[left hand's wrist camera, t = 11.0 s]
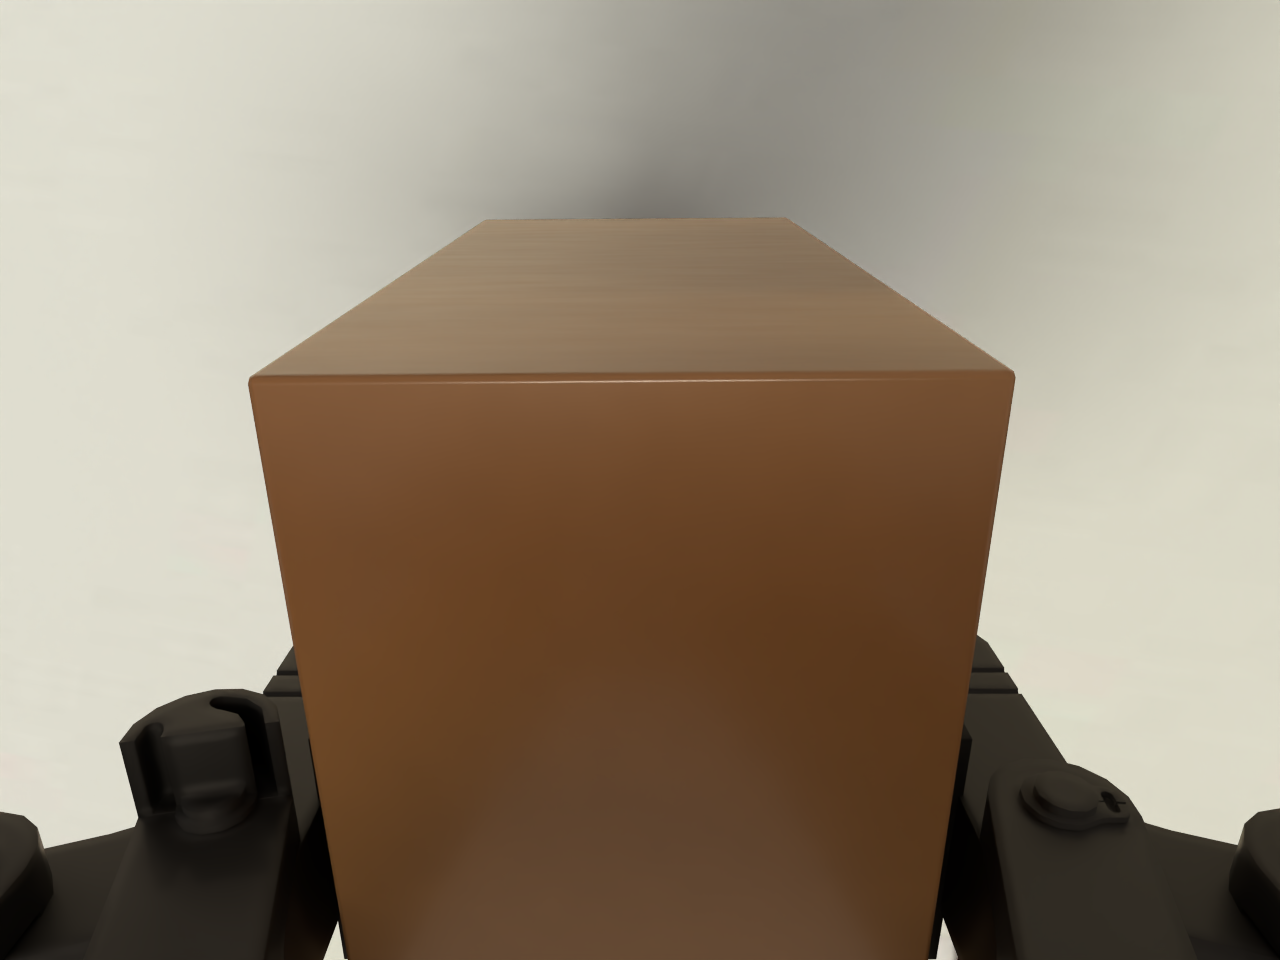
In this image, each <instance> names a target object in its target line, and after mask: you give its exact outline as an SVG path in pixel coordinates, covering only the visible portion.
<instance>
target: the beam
mask: <svg viewBox="0 0 1280 960" xmlns="http://www.w3.org/2000/svg"><path fill="white" fill-rule="evenodd" d="M1014 384H1015V374H1014V371H1012V370H1011V369H1010V368H1008V367H1007V366H1005V365H1004V364H1002V363H1001V362H999V361H998V360H996V359H995V358H993V357H992V356H990V355H989V354H987V353H986V352H984V351H983V350H981V349H980V348H978V347H977V346H976V345H974V344H973V343H971V342H970V341H968V340H967V339H965V338H964V337H962V336H961V335H959V334H958V333H956V332H955V331H953V330H952V329H950V328H949V327H947V326H946V325H944V324H943V323H941V322H940V321H939V320H937V319H936V318H934V317H933V316H931V315H930V314H928V313H927V312H925V311H924V310H922V309H921V308H919V307H918V306H916V305H915V304H913V303H912V302H910V301H909V300H907V299H906V298H904V297H903V296H902V295H900V294H899V293H897V292H896V291H894V290H893V289H891V288H890V287H888V286H887V285H885V284H884V283H882V282H881V281H879V280H878V279H876V278H875V277H873V276H872V275H870V274H869V273H867V272H866V271H865V270H863V269H862V268H860V267H859V266H857V265H856V264H854V263H853V262H851V261H850V260H848V259H847V258H845V257H844V256H842V255H841V254H839V253H838V252H836V251H835V250H833V249H832V248H831V247H829V246H828V245H826V244H825V243H823V242H822V241H820V240H819V239H817V238H816V237H814V236H813V235H811V234H810V233H808V232H807V231H805V230H804V229H802V228H801V227H799V226H798V225H796V224H795V223H794V222H792V221H791V220H789V219H788V218H785V217H783V218H656V219H529V220H485V221H483V222H481V223H480V224H478V225H477V226H475V227H474V228H472V229H471V230H469V231H468V232H466V233H465V234H463V235H462V236H460V237H459V238H457V239H456V240H454V241H453V242H452V243H450V244H449V245H447V246H446V247H444V248H443V249H441V250H440V251H438V252H437V253H435V254H434V255H432V256H431V257H429V258H428V259H426V260H425V261H423V262H422V263H420V264H419V265H417V266H416V267H414V268H413V269H411V270H410V271H408V272H407V273H405V274H404V275H402V276H401V277H399V278H398V279H396V280H395V281H393V282H392V283H390V284H389V285H387V286H386V287H384V288H383V289H381V290H380V291H378V292H377V293H375V294H374V295H372V296H371V297H369V298H368V299H366V300H365V301H363V302H362V303H360V304H359V305H357V306H356V307H354V308H353V309H351V310H350V311H348V312H347V313H345V314H344V315H342V316H341V317H339V318H338V319H336V320H335V321H333V322H332V323H330V324H329V325H327V326H326V327H324V328H323V329H321V330H320V331H318V332H317V333H315V334H314V335H312V336H311V337H309V338H308V339H306V340H305V341H303V342H302V343H300V344H299V345H297V346H296V347H294V348H293V349H291V350H290V351H288V352H287V353H285V354H284V355H282V356H281V357H279V358H278V359H276V360H275V361H273V362H272V363H270V364H269V365H267V366H266V367H264V368H263V369H261V370H260V371H258V372H257V373H255V374H254V375H252V376H251V377H250V378H249V382H248V386H249V392H250V398H251V404H252V409H253V415H254V421H255V427H256V432H257V438H258V444H259V450H260V456H261V461H262V467H263V473H264V479H265V484H266V490H267V496H268V502H269V508H270V513H271V519H272V525H273V531H274V536H275V542H276V548H277V554H278V559H279V565H280V571H281V577H282V583H283V588H284V594H285V600H286V606H287V611H288V617H289V623H290V629H291V635H292V640H293V646H294V652H295V658H296V663H297V669H298V675H299V681H300V686H301V692H302V698H303V704H304V710H305V715H306V721H307V727H308V733H309V738H310V744H311V750H312V756H313V762H314V767H315V773H316V779H317V785H318V790H319V796H320V802H321V808H322V813H323V819H324V825H325V831H326V837H327V842H328V848H329V854H330V860H331V865H332V871H333V877H334V883H335V889H336V894H337V900H338V906H339V912H340V917H341V923H342V929H343V935H344V940H345V946H346V952H347V958H348V960H928V956H929V949H930V942H931V936H932V929H933V922H934V916H935V909H936V903H937V896H938V889H939V883H940V876H941V869H942V863H943V856H944V849H945V843H946V836H947V829H948V823H949V816H950V809H951V803H952V796H953V790H954V783H955V776H956V770H957V763H958V756H959V750H960V743H961V736H962V730H963V723H964V716H965V710H966V703H967V697H968V690H969V683H970V677H971V670H972V663H973V657H974V650H975V643H976V637H977V630H978V623H979V617H980V610H981V603H982V597H983V590H984V584H985V577H986V570H987V564H988V557H989V550H990V544H991V537H992V530H993V524H994V517H995V510H996V504H997V497H998V490H999V484H1000V477H1001V471H1002V464H1003V457H1004V451H1005V444H1006V437H1007V431H1008V424H1009V417H1010V411H1011V404H1012V397H1013V391H1014Z"/></svg>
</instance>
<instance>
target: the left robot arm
mask: <svg viewBox="0 0 1280 960" xmlns="http://www.w3.org/2000/svg"><path fill="white" fill-rule="evenodd" d="M119 745H120V749H121V752H122V756H123V760H124V764H125V768H126V772H127V775H128V779H129V783H130V787H131V791H132V795H133V799H134V802H135V806H136V810H137V814H138V820H137V823H136V825H135V827H133V828H129V829H126V830H122V831H119V832H115V833H112V834H108V835H104V836H99V837H95V838H90V839H86V840H81V841H77V842H72V843H68V844H63V845H59V846H54V847H50V848H46V849H44V847H43V844H42V841H41V838H40V834H39V831H38V828H37V827H36V826H35V825H34V824H33V823H32V822H30V821H29V820H28V819H27V818H26V817H25V816H22V815H16V814H10V813H4V812H0V960H323V959H324V956H325V954H326V951H327V948H328V946H329V943H330V940H331V938H332V935H333V932H334V930H335V927H336V924H337V922H338V923H339V929H340V935H341V941H342V947H343V953H344V959H348V958H347V952H346V946H345V940H344V935H343V929H342V923H341V917H340V912H339V906H338V900H337V894H336V889H335V883H334V877H333V871H332V865H331V860H330V854H329V848H328V842H327V837H326V831H325V825H324V819H323V813H322V808H321V802H320V796H319V790H318V785H317V779H316V773H315V767H314V762H313V756H312V750H311V744H310V738H309V733H308V727H307V721H306V715H305V710H304V704H303V698H302V692H301V686H300V681H299V675H298V669H297V663H296V658H295V652H294V646H293V647H292V648H291V650H290V651H289V653H288V654H287V656H286V657H285V659H284V661H283V662H282V664H281V665H280V667H279V668H278V670H277V675H276V676H273V677H272V679H271V680H270V682H269V683H268V685H267V687H266V688H265V690H264V691H263V694H260V693H256V692H252V691H249V690H245V689H215V690H210V691H206V692H201V693H197V694H192V695H188V696H184V697H182V698H180V699H177V700H175V701H172V702H170V703H168V704H165V705H163V706H161V707H158V708H156V709H155V710H153V711H152V712H151V713H149V714H148V715H146V716H145V717H143V718H142V719H140V720H139V721H138V722H136V723H135V724H133V726H132V727H131V728H130V729H129V731H128V732H127V733H126V734H125V736H124V737H123V738H122V740H121V741H120V742H119ZM943 918H944V921H945V924H946V926H947V929H948V932H949V934H950V937H951V940H952V942H953V945H954V948H955V950H956V953H957V955H958V960H1280V808H1279V809H1273V810H1268V811H1262V812H1258V813H1257V814H1255V815H1254V816H1253V817H1252V818H1251V819H1250V820H1248V821H1247V822H1246V823H1245V824H1244V827H1243V830H1242V834H1241V837H1240V840H1239V843H1238V845H1234V844H1230V843H1225V842H1221V841H1216V840H1212V839H1207V838H1203V837H1198V836H1194V835H1189V834H1185V833H1180V832H1176V831H1171V830H1168V829H1164V828H1161V827H1158V826H1154V825H1151V824H1147V823H1145V822H1144V821H1143V819H1142V816H1141V815H1140V813H1139V812H1138V810H1137V809H1136V807H1135V806H1134V804H1133V803H1132V801H1131V800H1130V798H1129V797H1128V796H1127V795H1126V794H1124V793H1123V792H1122V791H1121V790H1119V789H1118V788H1117V787H1115V786H1114V785H1113V784H1112V783H1110V782H1109V781H1108V780H1107V779H1105V778H1103V777H1101V776H1099V775H1096V774H1094V773H1092V772H1090V771H1088V770H1086V769H1084V768H1082V767H1080V766H1076V765H1072V764H1068V763H1067V762H1066V761H1065V759H1064V758H1063V756H1062V755H1061V753H1060V752H1059V750H1058V749H1057V747H1056V746H1055V744H1054V742H1053V741H1052V739H1051V738H1050V736H1049V735H1048V733H1047V732H1046V730H1045V729H1044V727H1043V726H1042V724H1041V723H1040V721H1039V720H1038V718H1037V717H1036V715H1035V714H1034V712H1033V711H1032V709H1031V708H1030V706H1029V705H1028V703H1027V702H1026V700H1025V698H1024V697H1023V695H1022V694H1018V688H1017V686H1016V685H1015V683H1014V682H1013V680H1012V679H1011V677H1010V676H1009V674H1008V673H1005V672H1004V667H1003V665H1002V664H1001V662H1000V661H999V659H998V658H997V656H996V655H995V653H994V651H993V650H992V648H991V647H990V645H989V644H988V642H986V641H985V640H983V639H982V638H981V637H979V636H978V635H977V637H976V643H975V650H974V657H973V663H972V670H971V677H970V683H969V690H968V697H967V703H966V710H965V716H964V723H963V730H962V736H961V743H960V750H959V756H958V763H957V770H956V776H955V783H954V790H953V796H952V803H951V809H950V816H949V823H948V829H947V836H946V843H945V849H944V856H943V863H942V869H941V876H940V883H939V889H938V896H937V903H936V909H935V916H934V922H933V929H932V936H931V942H930V949H929V956H928V959H936V957H937V951H938V945H939V939H940V933H941V927H942V920H943Z"/></svg>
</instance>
